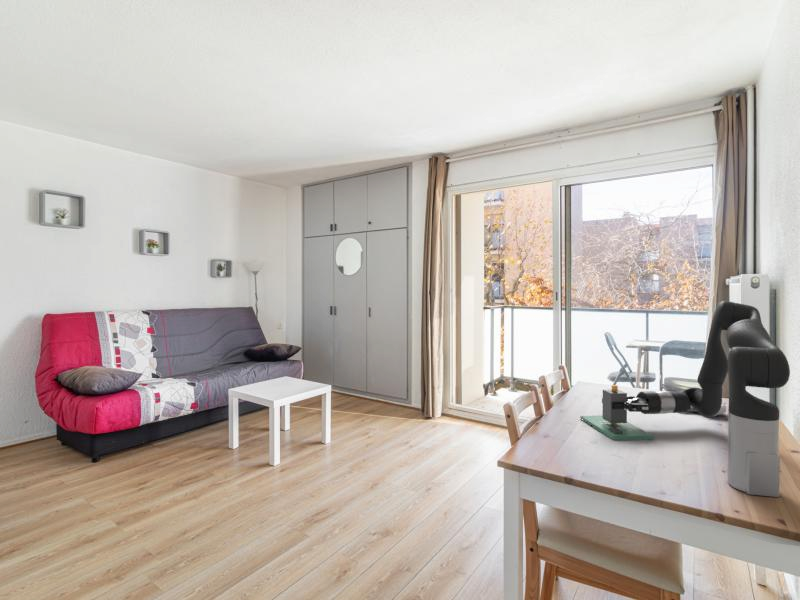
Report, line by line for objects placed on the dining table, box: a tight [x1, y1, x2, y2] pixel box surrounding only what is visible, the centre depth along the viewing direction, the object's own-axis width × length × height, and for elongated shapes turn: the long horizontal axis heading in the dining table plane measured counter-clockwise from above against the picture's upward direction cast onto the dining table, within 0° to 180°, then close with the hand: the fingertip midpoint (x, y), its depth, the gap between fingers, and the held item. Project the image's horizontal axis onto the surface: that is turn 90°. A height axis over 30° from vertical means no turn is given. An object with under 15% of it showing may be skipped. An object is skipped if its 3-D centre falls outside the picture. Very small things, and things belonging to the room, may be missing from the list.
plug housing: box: [602, 384, 628, 423], centre depth 144 cm, size 5×5×12 cm
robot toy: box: [687, 402, 727, 418], centre depth 163 cm, size 12×4×15 cm
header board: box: [579, 415, 654, 441], centre depth 144 cm, size 22×13×4 cm, turn 2°
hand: (607, 403), depth 144 cm, fingers closed on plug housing, 5 cm apart
